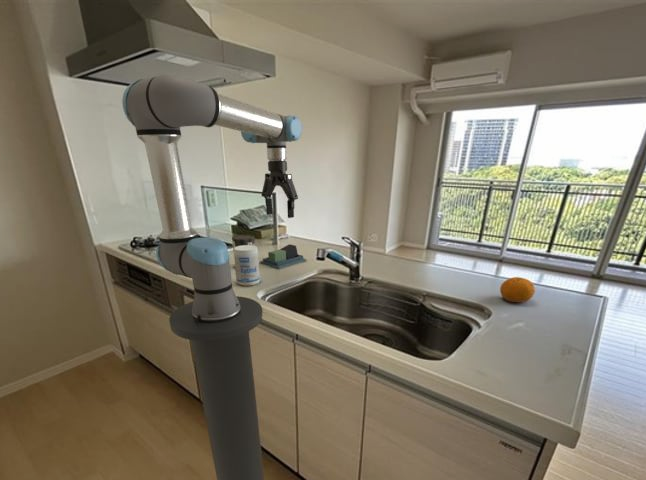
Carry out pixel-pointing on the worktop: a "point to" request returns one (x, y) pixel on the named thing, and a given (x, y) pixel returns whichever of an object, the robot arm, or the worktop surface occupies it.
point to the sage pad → (277, 255)
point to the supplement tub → (246, 265)
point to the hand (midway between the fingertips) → (280, 216)
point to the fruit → (517, 289)
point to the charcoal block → (290, 251)
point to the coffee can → (242, 240)
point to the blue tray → (283, 262)
